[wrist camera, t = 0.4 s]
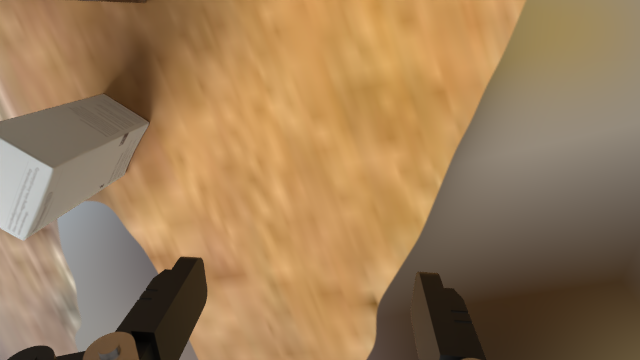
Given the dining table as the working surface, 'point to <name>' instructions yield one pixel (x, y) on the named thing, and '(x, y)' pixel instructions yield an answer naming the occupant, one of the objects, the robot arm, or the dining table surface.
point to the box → (137, 0)
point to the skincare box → (62, 159)
